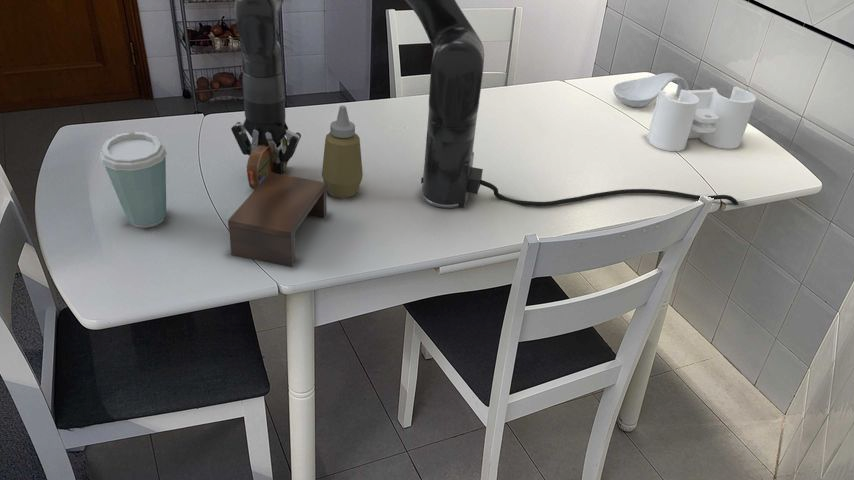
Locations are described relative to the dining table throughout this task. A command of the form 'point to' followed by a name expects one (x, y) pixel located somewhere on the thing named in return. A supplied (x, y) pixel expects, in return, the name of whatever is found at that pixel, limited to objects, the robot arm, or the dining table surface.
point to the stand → (275, 217)
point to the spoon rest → (646, 89)
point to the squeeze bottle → (342, 157)
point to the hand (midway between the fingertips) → (268, 175)
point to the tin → (261, 164)
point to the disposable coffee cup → (137, 176)
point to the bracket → (700, 119)
